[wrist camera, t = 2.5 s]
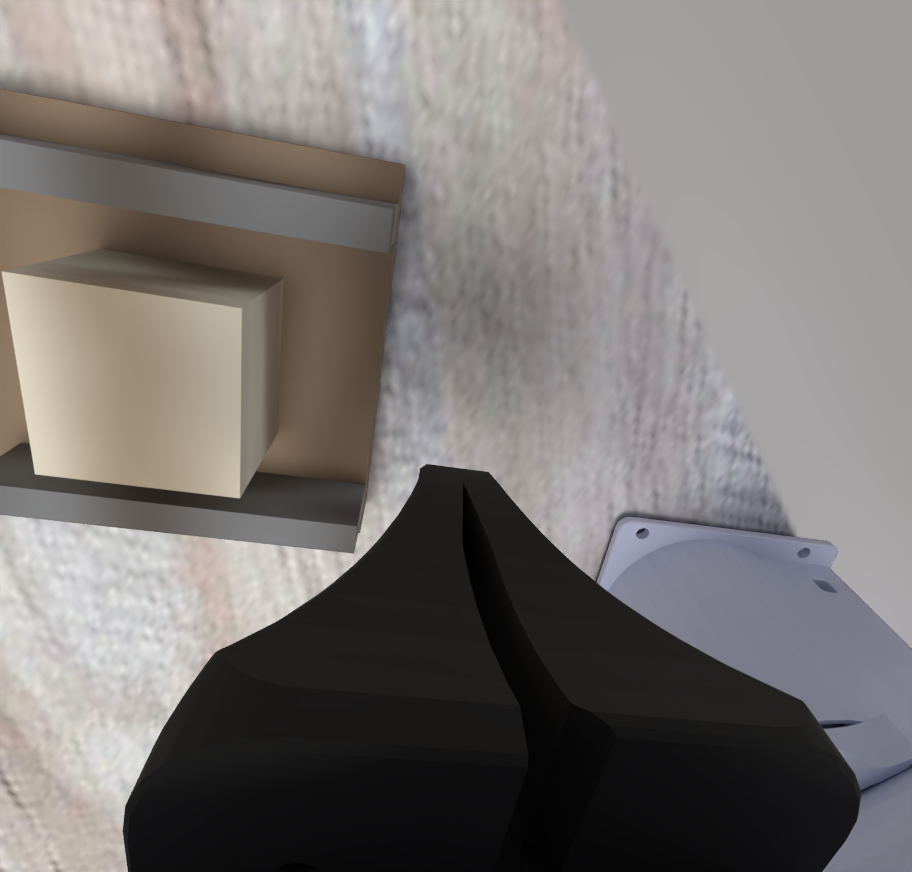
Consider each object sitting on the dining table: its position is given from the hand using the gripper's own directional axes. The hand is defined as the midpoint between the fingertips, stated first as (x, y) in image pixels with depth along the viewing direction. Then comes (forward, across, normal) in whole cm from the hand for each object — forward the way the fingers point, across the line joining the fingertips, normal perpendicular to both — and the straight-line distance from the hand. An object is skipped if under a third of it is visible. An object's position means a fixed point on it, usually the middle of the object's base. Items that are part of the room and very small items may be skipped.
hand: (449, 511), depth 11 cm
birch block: (+7, +8, 0) cm, 11 cm away
